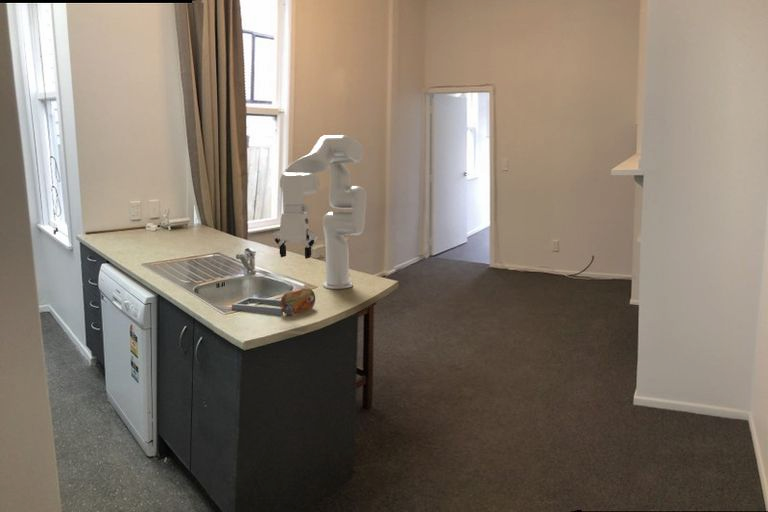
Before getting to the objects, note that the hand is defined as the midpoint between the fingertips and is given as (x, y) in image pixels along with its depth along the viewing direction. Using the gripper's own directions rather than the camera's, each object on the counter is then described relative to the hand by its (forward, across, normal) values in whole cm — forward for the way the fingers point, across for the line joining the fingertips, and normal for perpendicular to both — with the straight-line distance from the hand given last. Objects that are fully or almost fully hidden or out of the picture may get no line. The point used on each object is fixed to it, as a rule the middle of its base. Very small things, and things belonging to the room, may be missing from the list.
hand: (295, 257), depth 209 cm
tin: (+20, 0, 0) cm, 21 cm away
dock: (+20, +13, 0) cm, 24 cm away
